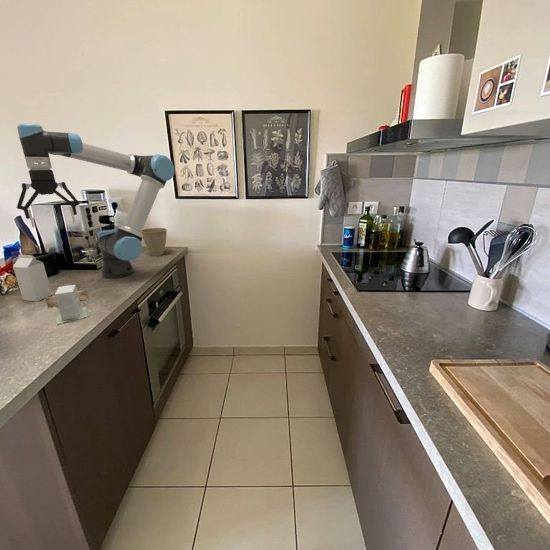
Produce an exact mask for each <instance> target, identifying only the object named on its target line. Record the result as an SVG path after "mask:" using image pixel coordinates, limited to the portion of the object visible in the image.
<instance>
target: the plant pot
mask: <svg viewBox="0 0 550 550" xmlns="http://www.w3.org/2000/svg"><path fill="white" fill-rule="evenodd" d="M141 235H142V237H143V238H142V240H143V242H144V244H145V246H146V249H147V250H148V252H149V254H150V256H152V257H159V256H162V255H164V252H165V249H166V242H167V228H164V227H153V228H151V227H150V228H145V229H144V228H143V229H142V232H141Z"/></svg>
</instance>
